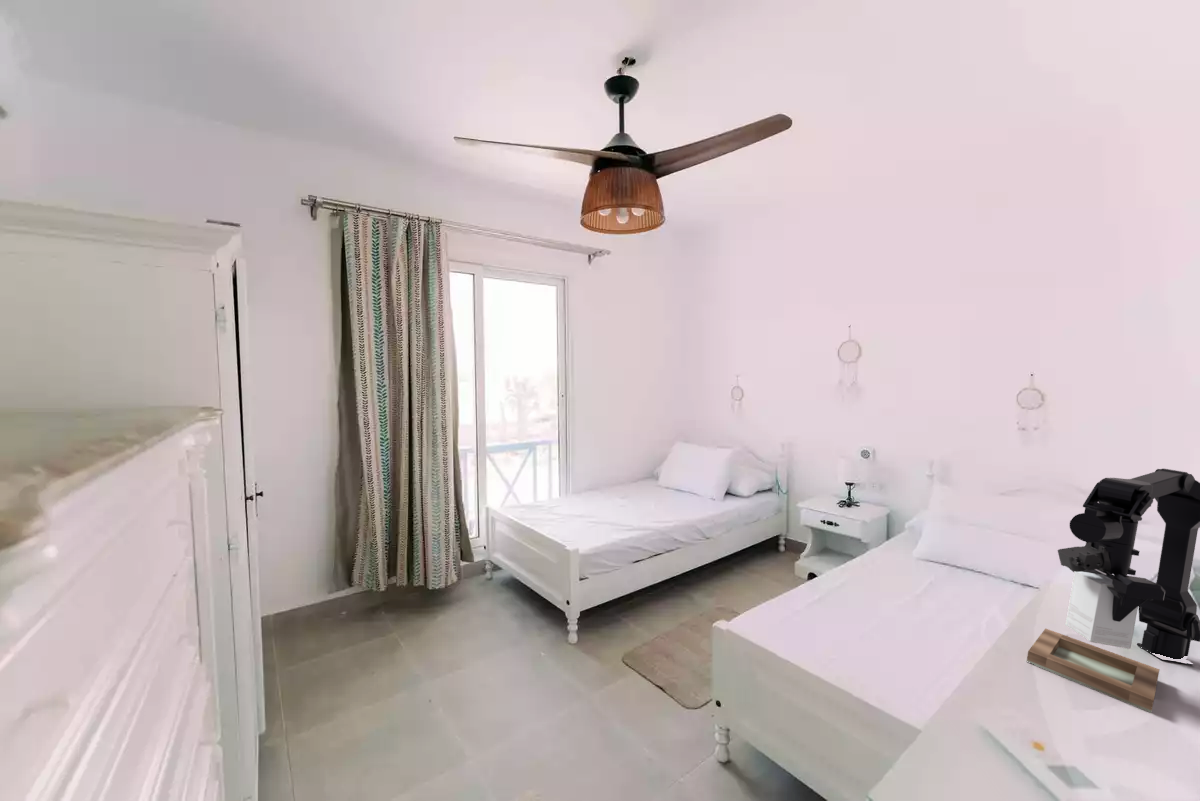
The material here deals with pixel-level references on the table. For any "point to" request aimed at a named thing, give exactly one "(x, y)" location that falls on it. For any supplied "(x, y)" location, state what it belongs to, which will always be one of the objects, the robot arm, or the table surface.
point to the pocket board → (1096, 668)
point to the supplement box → (1097, 612)
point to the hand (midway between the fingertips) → (1101, 611)
